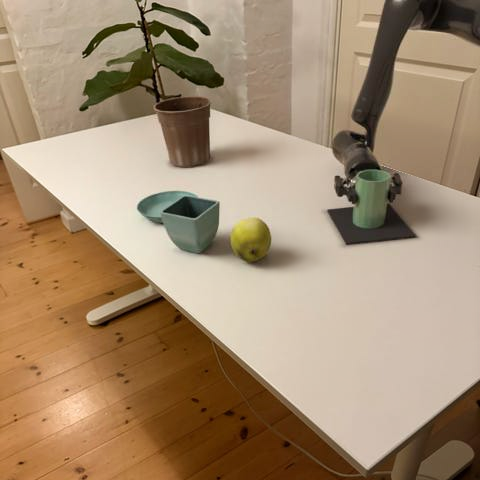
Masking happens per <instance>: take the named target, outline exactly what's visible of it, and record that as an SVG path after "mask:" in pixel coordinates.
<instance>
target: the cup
mask: <svg viewBox="0 0 480 480" xmlns="http://www.w3.org/2000/svg"><path fill="white" fill-rule="evenodd" d="M390 177H392V175H391V174H390V172H388V171H385V170H383V169H381V170H373V169H372V170H364V171H360V172H359V173H357V175H356V183H355V192H356V204H353V206H352V207H353V223H354V224H355V225H356V226H358V227H361V228H378V227H380V226H382V225H383V224H384V223H385V216H386V208H387V203H388V193H389V185H390Z"/></svg>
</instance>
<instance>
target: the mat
mask: <svg viewBox="0 0 480 480" xmlns="http://www.w3.org/2000/svg"><path fill="white" fill-rule="evenodd" d="M353 207H354V206H348V207H338V208H329V209H328V208H327V210H326V211H327V214H328V215H329V217H330V219H331V221H332V222H333V224H334V226H335V227H336V229H337V231H338V233H339V235H340V237H341V238H342V240H343V242H344V244H345V246H349V245H350V246H351V245H360V244H368V243H369V244H370V243H377V242H378V243H379V242H387V241H396V240H397V241H398V240H405V239H414V238H416V233H414V232H413V231H412V229H411V228H410V227H409V225H408V224H407V223H406V222H405V221H404V220H403V219H402V218H401V216H400V215H399V213H398V212H396V210H395V209H394V208H393V207H392V206H391V203H389V202H387V208H386V216H385V223H384V224H383V225H382V226H380V227H378V228H361V227H358V226H356V225H355V224H354V223H353Z"/></svg>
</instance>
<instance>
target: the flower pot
mask: <svg viewBox="0 0 480 480" xmlns="http://www.w3.org/2000/svg"><path fill="white" fill-rule="evenodd" d="M220 203H221V201H219V200H215V199H208V198H205V197H204V198H202V197H199V196H198V197H193V196H188V195H184V196H182V197H181V198H179V199H178V200H177V201H175V202H174V203H172V204H171V205H169V206H168V207H166V208H165V209H163V210H162V211H161V212H160V214H161V217H162V220H163V223H162V224H163V226H164V229H165V231H166V234H167V235H168V238H169V239H170V241H171V242H172V243H173V245H175V246H176V247H177V248H178V249H179V250H183V251H187V252H191V253H194V254H201V253H202V252H203V251H205V250H206V248H208V247H209V246H210V245H211V244H212V243H213V241H214V240H215V238H216V236H217V233H218V232H219V231H218V230H219V226H220V208H221V207H220Z"/></svg>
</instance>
